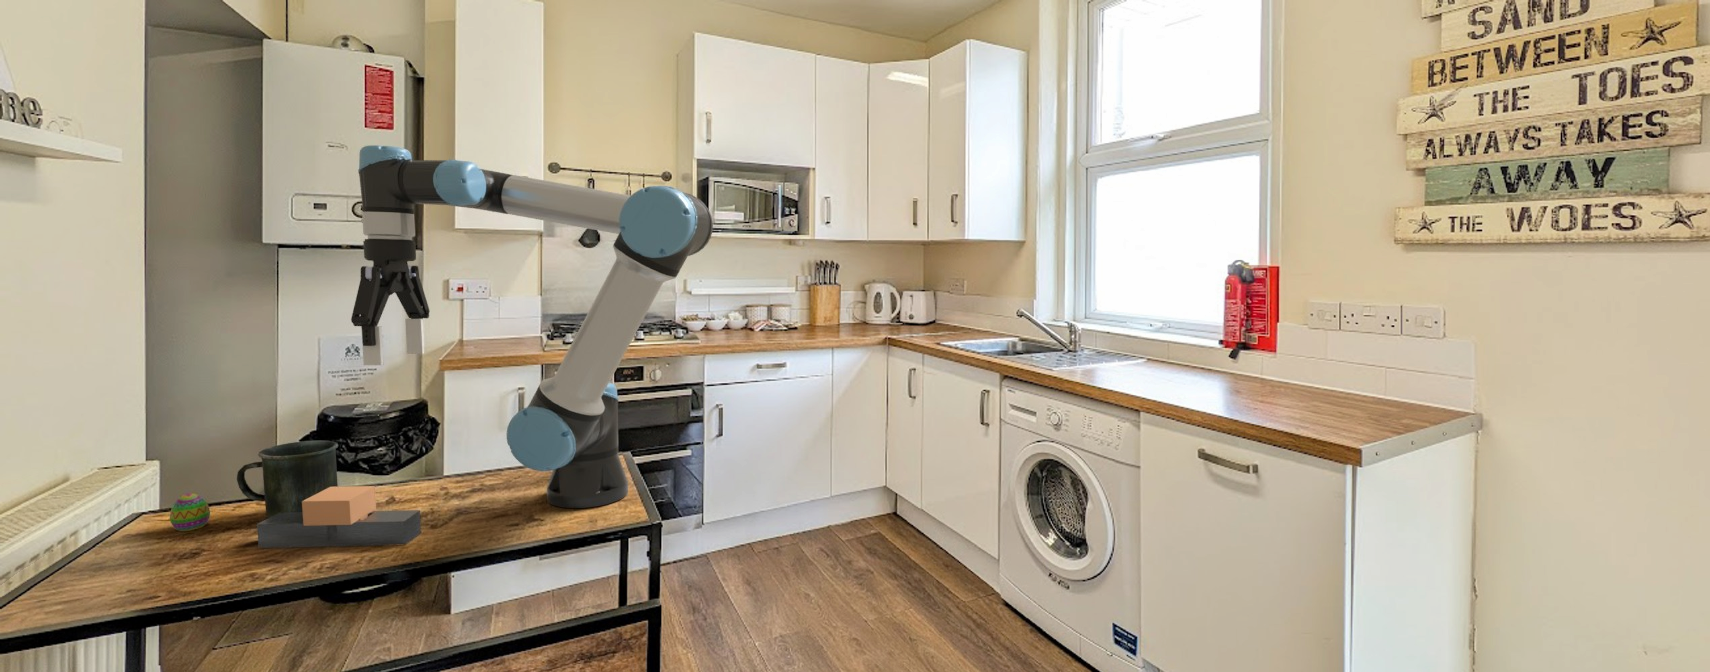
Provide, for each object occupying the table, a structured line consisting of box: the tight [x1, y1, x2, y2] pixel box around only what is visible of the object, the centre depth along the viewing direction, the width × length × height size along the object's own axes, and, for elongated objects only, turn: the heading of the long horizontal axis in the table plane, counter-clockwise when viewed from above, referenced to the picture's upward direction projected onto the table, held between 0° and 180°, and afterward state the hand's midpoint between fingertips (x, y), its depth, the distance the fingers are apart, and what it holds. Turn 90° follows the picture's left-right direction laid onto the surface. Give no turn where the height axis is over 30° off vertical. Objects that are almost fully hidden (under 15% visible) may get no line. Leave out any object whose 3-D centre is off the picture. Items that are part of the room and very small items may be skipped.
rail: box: [256, 509, 422, 549], centre depth 113 cm, size 22×5×4 cm, turn 97°
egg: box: [169, 493, 211, 532], centre depth 117 cm, size 5×5×6 cm
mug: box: [236, 439, 339, 519], centre depth 124 cm, size 11×15×12 cm
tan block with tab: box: [302, 485, 377, 526], centre depth 113 cm, size 7×7×7 cm
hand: (395, 359), depth 122 cm, fingers open, 13 cm apart
